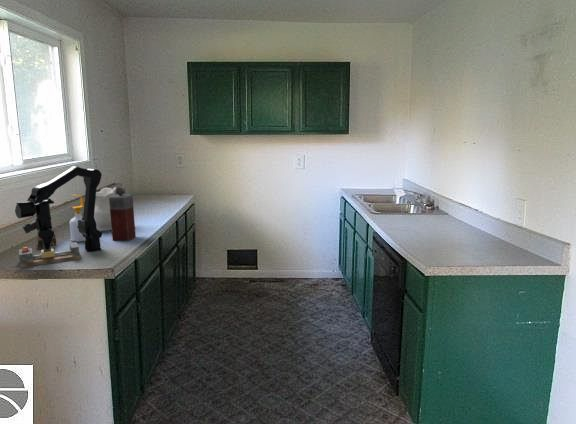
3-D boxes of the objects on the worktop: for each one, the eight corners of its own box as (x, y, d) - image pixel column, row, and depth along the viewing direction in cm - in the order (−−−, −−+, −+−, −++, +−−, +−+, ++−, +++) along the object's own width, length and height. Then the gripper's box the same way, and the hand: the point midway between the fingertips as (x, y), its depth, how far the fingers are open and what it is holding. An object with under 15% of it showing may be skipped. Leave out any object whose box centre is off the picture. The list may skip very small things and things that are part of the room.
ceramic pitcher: (107, 236, 251) (106, 192, 246) (76, 232, 255) (75, 188, 250) (128, 227, 272) (128, 187, 267) (99, 224, 275) (98, 184, 270)
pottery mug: (30, 249, 223) (33, 233, 226) (48, 253, 231) (51, 238, 233) (45, 246, 217) (48, 230, 220) (63, 250, 225) (65, 234, 228)
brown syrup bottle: (137, 235, 247) (133, 185, 241) (128, 240, 236) (124, 188, 230) (122, 235, 248) (117, 185, 242) (112, 240, 237) (107, 188, 231)
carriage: (53, 254, 206) (52, 237, 205) (54, 256, 202) (52, 240, 200) (41, 255, 204) (39, 239, 202) (42, 258, 199) (40, 241, 198)
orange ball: (28, 252, 200) (28, 246, 199) (28, 253, 198) (28, 247, 197) (22, 252, 198) (21, 247, 198) (22, 254, 196) (21, 248, 196)
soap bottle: (69, 239, 240) (64, 194, 235) (87, 236, 246) (82, 192, 241) (73, 242, 233) (69, 196, 229) (92, 239, 239) (87, 194, 234)
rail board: (78, 252, 214) (77, 241, 213) (81, 258, 205) (80, 247, 204) (20, 261, 202) (18, 249, 201) (20, 267, 193) (19, 255, 192)
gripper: (22, 213, 203) (26, 246, 206) (22, 220, 187) (27, 256, 190) (49, 210, 209) (53, 242, 212) (52, 217, 193) (56, 252, 196)
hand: (47, 248), depth 202 cm, fingers closed on carriage, 3 cm apart
